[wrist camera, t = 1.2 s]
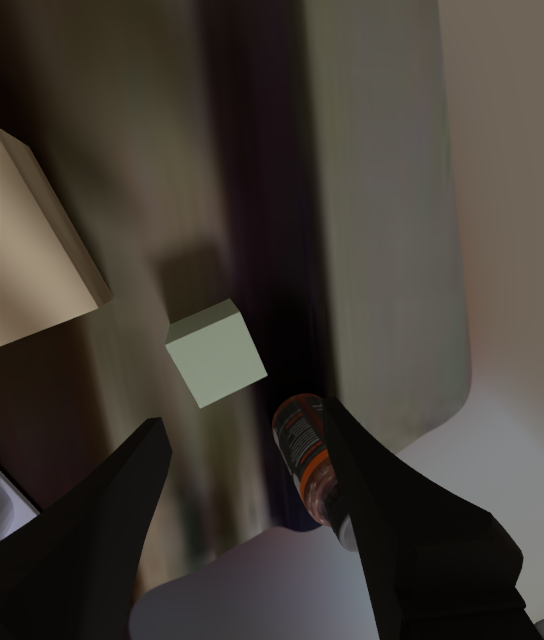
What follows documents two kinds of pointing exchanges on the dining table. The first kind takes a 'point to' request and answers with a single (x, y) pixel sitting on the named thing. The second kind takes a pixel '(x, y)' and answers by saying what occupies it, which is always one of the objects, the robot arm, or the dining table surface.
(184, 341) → the sage cube
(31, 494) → the dining table surface
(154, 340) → the dining table surface
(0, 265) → the birch base
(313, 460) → the supplement bottle
